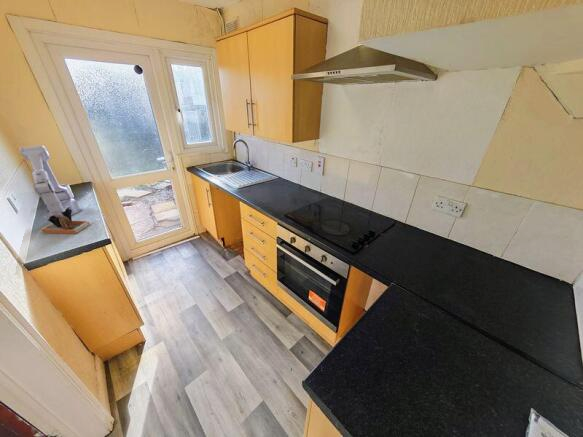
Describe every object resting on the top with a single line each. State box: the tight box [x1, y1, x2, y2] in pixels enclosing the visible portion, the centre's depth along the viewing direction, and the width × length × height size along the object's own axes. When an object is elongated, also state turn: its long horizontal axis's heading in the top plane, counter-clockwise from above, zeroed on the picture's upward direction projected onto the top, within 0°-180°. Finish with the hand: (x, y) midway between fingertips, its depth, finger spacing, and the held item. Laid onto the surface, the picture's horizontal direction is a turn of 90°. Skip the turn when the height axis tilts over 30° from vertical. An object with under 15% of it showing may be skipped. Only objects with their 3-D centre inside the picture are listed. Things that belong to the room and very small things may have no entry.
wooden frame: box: [40, 220, 91, 235], centre depth 133 cm, size 10×19×2 cm, turn 88°
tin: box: [55, 213, 74, 230], centre depth 131 cm, size 15×3×8 cm, turn 62°
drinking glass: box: [59, 183, 75, 199], centre depth 168 cm, size 7×7×10 cm
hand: (64, 224), depth 132 cm, fingers open, 6 cm apart
